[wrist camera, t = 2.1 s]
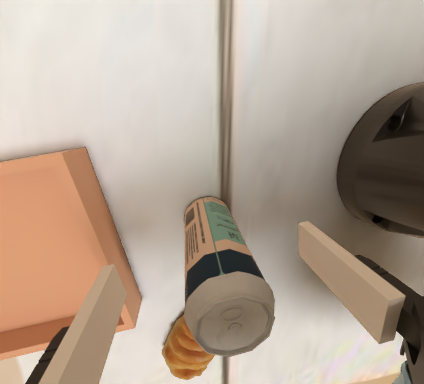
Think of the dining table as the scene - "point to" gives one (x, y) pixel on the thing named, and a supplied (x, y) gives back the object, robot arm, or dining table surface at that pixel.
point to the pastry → (184, 352)
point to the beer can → (223, 283)
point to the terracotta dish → (54, 248)
